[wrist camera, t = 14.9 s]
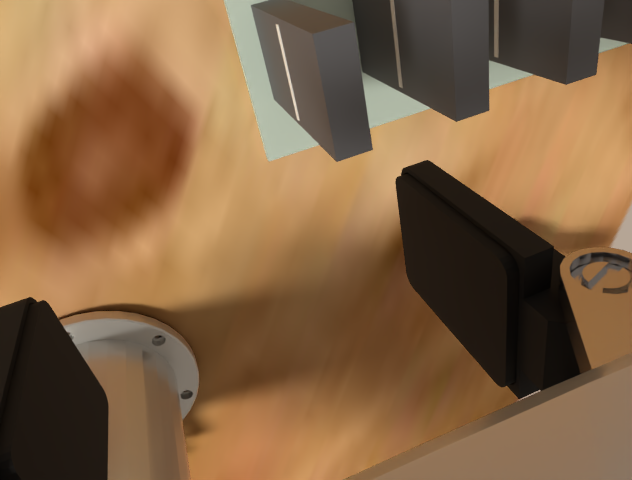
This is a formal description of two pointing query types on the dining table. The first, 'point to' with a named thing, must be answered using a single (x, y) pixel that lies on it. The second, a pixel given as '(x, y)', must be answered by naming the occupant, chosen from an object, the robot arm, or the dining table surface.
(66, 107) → the dining table surface
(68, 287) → the dining table surface
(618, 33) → the domino
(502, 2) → the domino
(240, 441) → the dining table surface
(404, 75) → the domino
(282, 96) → the domino
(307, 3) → the mat
